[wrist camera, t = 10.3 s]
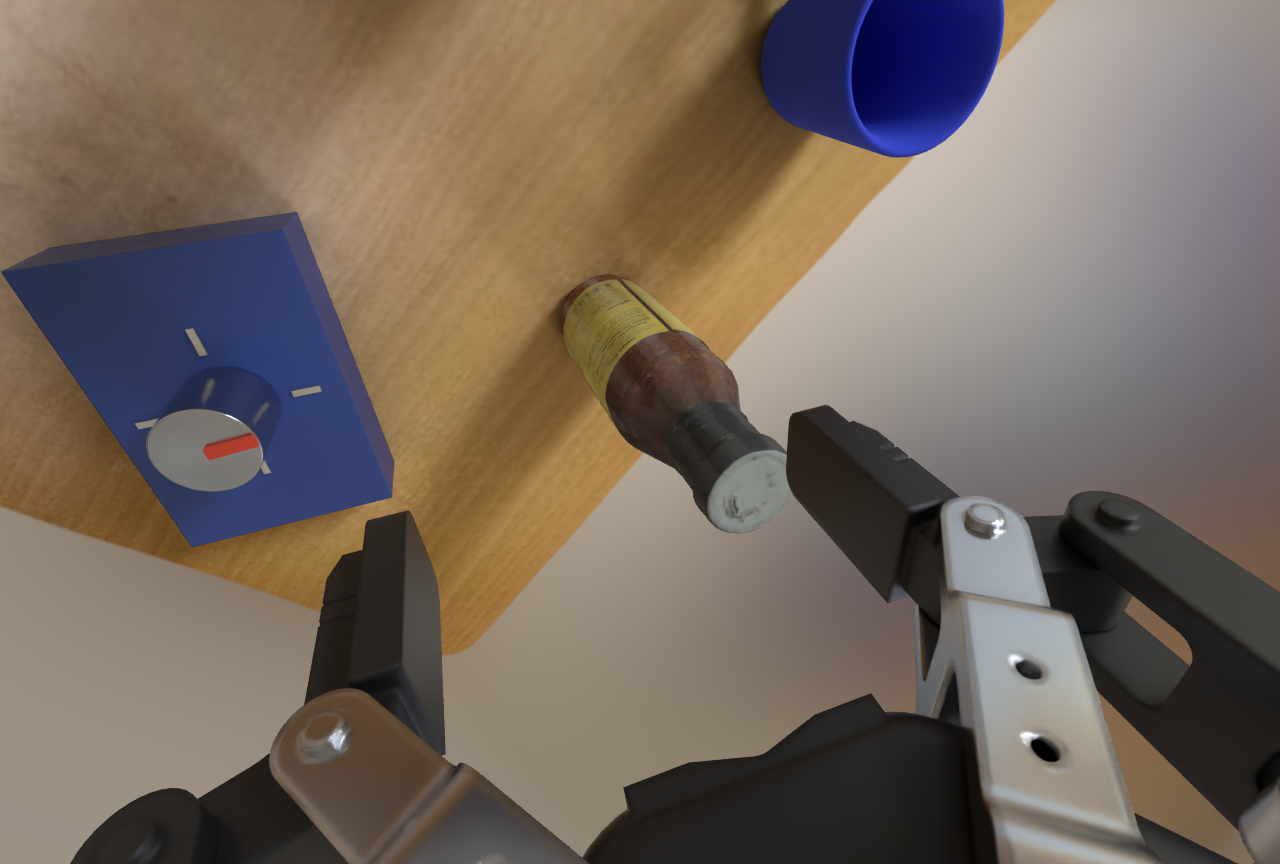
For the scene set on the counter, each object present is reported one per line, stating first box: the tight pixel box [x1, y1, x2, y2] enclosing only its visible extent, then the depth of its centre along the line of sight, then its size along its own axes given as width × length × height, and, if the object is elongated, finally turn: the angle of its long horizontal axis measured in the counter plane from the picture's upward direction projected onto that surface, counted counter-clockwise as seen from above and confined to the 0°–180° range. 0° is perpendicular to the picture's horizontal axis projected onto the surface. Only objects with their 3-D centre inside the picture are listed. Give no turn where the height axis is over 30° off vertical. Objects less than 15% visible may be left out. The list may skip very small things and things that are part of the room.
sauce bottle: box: [560, 275, 793, 534], centre depth 30 cm, size 6×6×20 cm
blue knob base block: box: [1, 212, 394, 547], centre depth 32 cm, size 16×11×4 cm
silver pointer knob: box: [146, 367, 281, 492], centre depth 28 cm, size 4×4×5 cm
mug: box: [761, 0, 1004, 157], centre depth 29 cm, size 8×12×10 cm
